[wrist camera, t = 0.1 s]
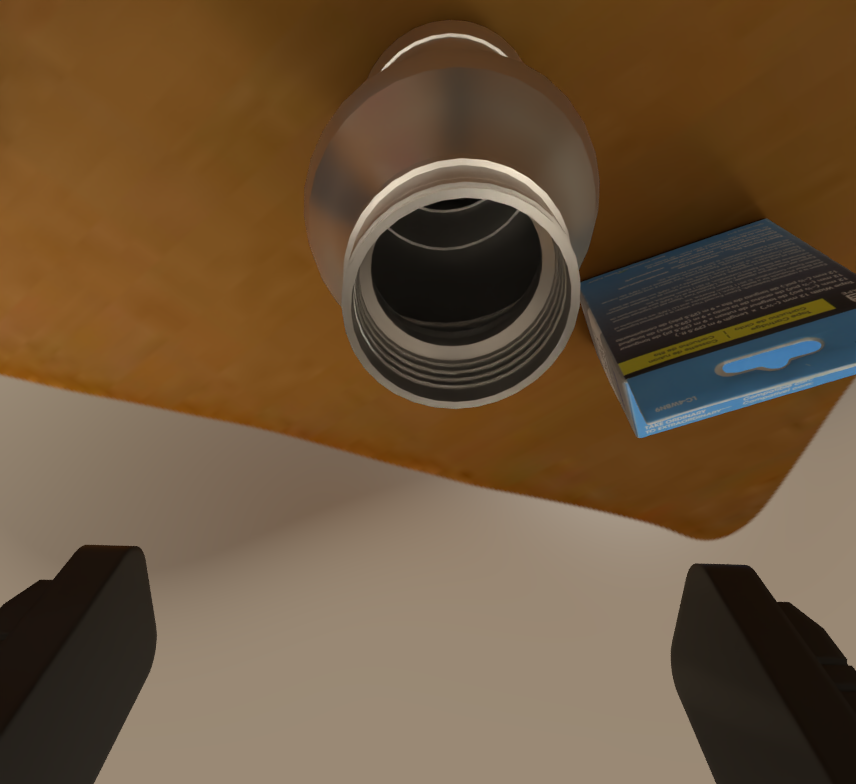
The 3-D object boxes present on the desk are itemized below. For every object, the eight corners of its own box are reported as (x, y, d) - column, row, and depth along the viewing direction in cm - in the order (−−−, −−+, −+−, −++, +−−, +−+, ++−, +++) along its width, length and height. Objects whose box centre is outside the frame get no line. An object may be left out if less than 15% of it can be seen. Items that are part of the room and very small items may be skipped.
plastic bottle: (559, 107, 27) (775, 300, 10) (441, 223, 30) (449, 538, 12) (449, -25, 25) (481, -69, 8) (330, 113, 27) (154, 313, 10)
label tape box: (592, 349, 33) (666, 517, 22) (570, 275, 31) (641, 421, 20) (777, 289, 31) (954, 440, 21) (767, 207, 29) (956, 328, 19)
